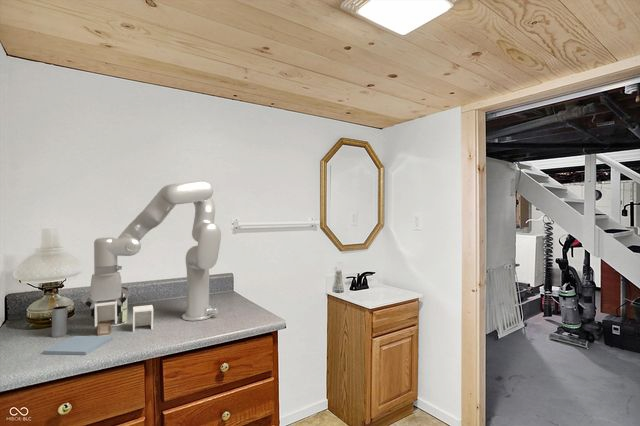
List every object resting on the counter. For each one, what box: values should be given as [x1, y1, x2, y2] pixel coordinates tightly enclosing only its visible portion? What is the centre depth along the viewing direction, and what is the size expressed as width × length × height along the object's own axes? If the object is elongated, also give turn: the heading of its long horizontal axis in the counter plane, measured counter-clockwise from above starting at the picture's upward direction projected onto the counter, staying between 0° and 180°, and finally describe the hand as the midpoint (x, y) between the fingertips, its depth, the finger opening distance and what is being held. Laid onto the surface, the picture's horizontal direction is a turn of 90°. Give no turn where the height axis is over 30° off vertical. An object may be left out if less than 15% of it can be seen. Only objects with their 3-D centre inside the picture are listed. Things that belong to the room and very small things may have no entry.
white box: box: [94, 300, 118, 328], centre depth 131 cm, size 7×7×8 cm
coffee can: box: [98, 286, 129, 328], centre depth 143 cm, size 10×10×14 cm
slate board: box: [42, 335, 114, 356], centre depth 118 cm, size 14×14×1 cm
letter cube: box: [97, 321, 112, 336], centre depth 131 cm, size 4×4×4 cm
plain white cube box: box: [132, 304, 154, 333], centre depth 138 cm, size 7×7×8 cm
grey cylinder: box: [51, 305, 68, 338], centre depth 128 cm, size 4×4×10 cm
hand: (106, 316), depth 131 cm, fingers closed on white box, 7 cm apart
